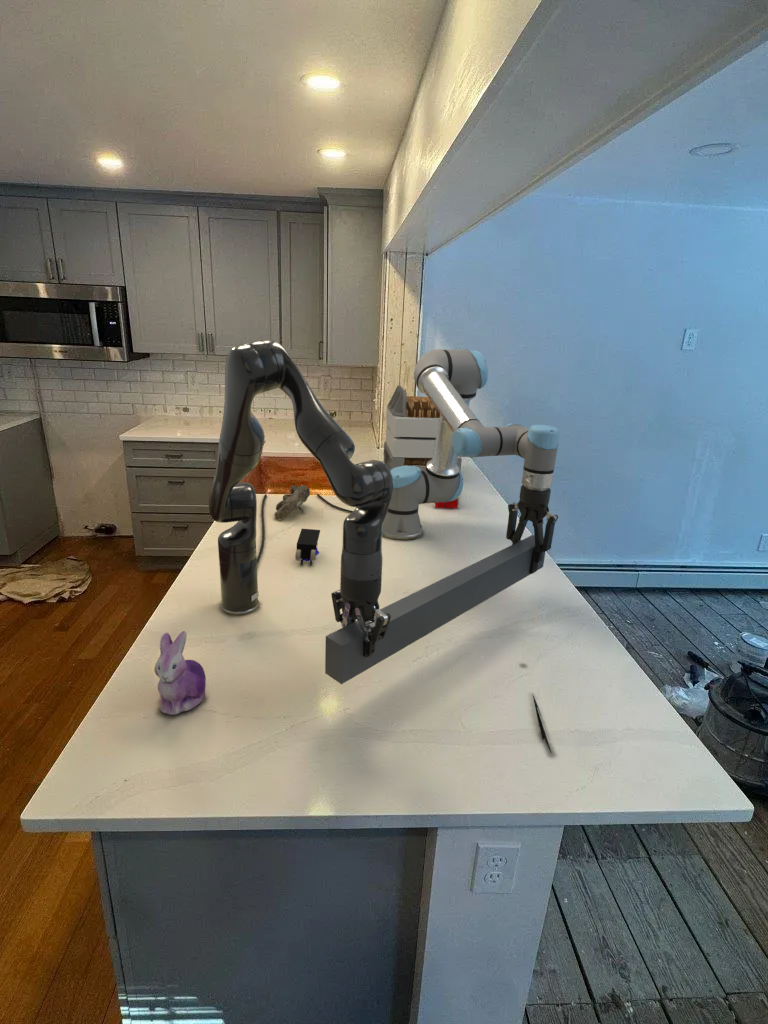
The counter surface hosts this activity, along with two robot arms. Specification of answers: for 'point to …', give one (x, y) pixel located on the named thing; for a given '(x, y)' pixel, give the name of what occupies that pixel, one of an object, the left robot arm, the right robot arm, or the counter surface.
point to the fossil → (292, 501)
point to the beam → (429, 609)
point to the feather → (541, 724)
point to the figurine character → (307, 545)
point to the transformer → (410, 430)
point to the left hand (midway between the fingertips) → (358, 649)
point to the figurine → (178, 677)
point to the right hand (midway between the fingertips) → (524, 568)
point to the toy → (447, 504)
